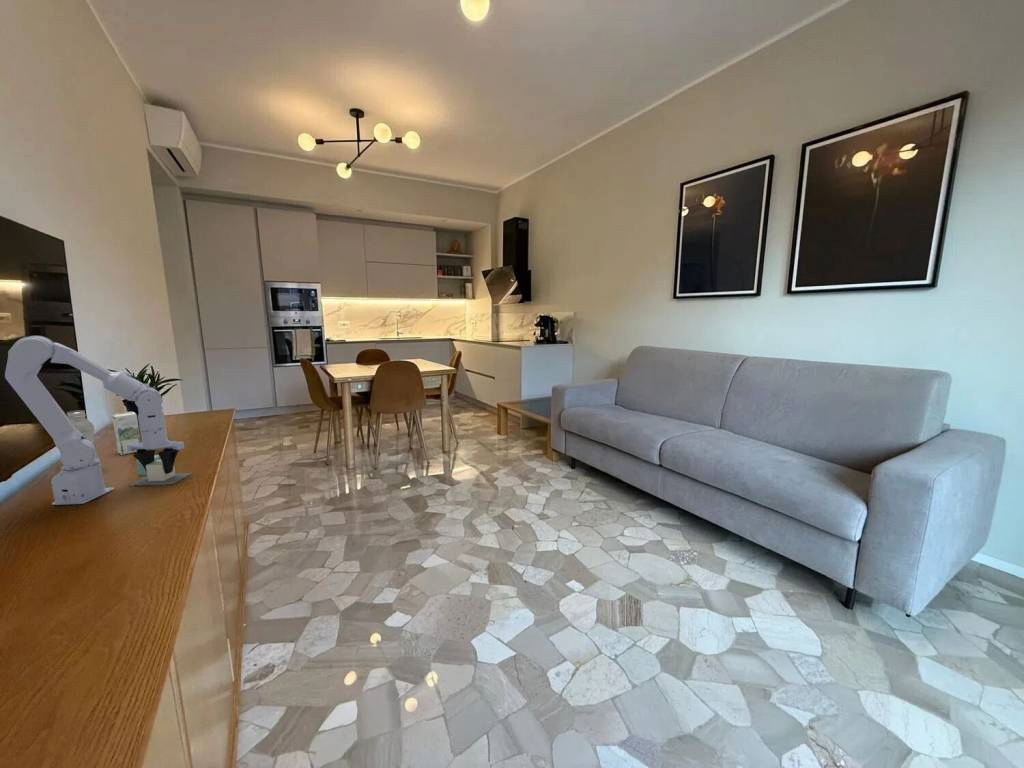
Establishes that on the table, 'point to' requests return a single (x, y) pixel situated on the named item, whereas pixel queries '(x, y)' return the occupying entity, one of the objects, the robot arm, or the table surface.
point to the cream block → (158, 471)
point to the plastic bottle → (82, 425)
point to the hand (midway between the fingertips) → (160, 472)
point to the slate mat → (169, 481)
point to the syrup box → (125, 431)
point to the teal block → (141, 469)
